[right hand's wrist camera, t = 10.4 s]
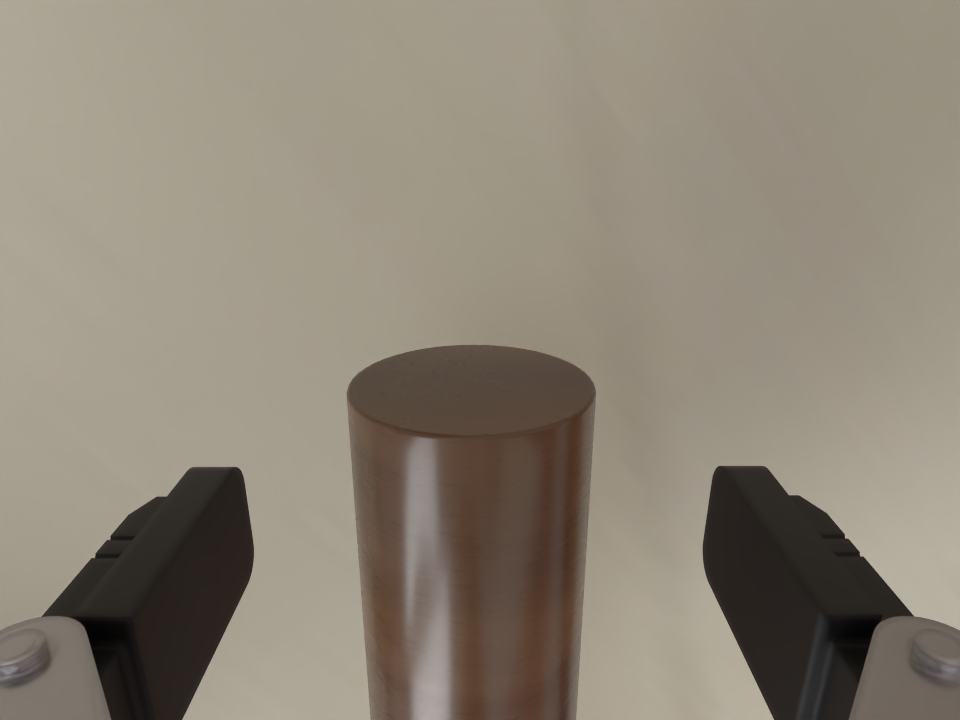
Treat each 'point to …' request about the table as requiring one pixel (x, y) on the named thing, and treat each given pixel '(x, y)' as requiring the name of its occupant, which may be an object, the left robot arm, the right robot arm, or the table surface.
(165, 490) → the table surface
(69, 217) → the table surface
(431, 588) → the rod
